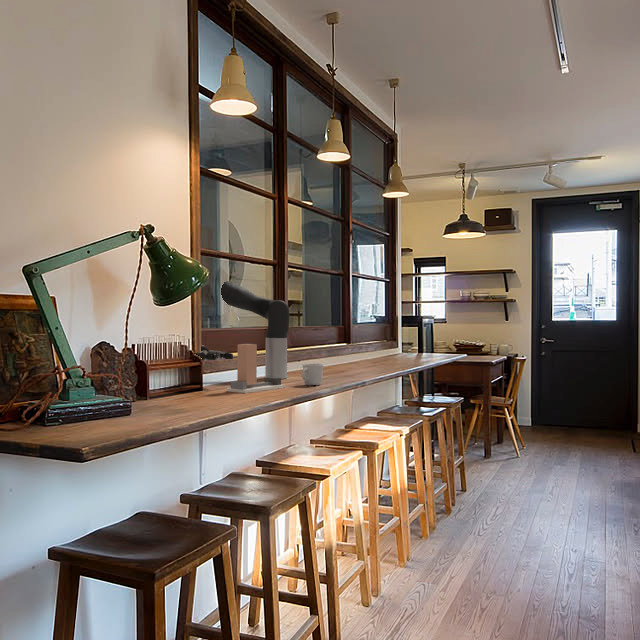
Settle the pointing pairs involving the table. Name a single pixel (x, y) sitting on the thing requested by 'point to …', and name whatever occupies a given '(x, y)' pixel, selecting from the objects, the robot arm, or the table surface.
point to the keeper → (247, 363)
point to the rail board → (256, 385)
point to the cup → (312, 374)
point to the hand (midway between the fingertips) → (224, 356)
